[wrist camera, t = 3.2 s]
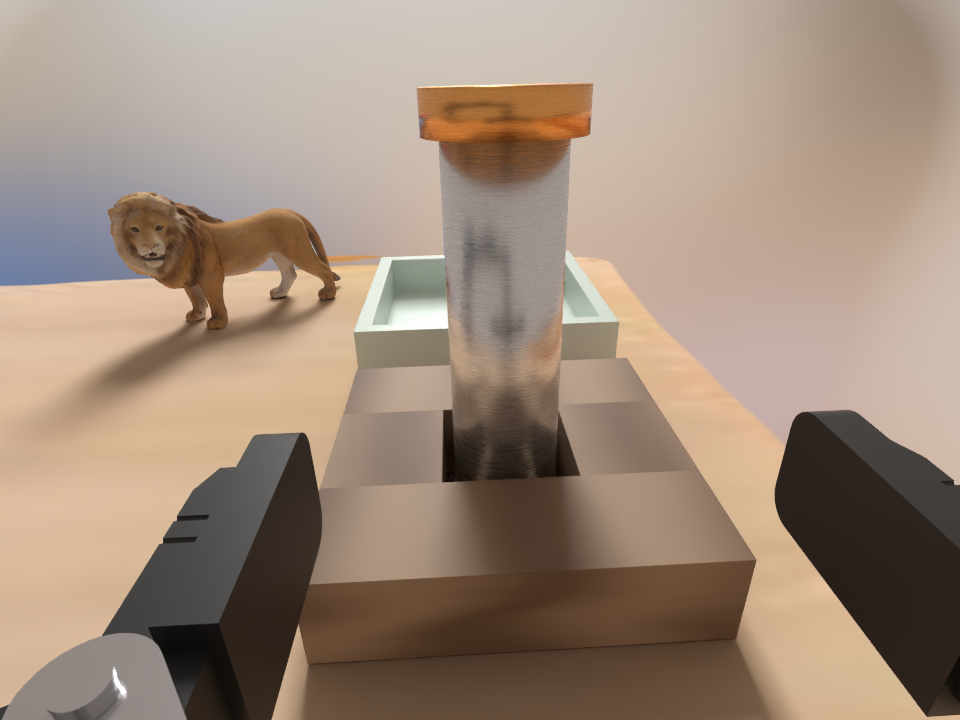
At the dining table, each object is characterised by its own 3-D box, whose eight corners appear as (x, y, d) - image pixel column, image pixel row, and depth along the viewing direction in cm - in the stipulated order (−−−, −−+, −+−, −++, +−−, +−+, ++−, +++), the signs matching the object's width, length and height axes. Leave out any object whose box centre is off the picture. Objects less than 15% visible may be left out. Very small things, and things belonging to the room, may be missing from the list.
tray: (360, 383, 30) (353, 332, 29) (385, 296, 42) (381, 257, 41) (614, 372, 31) (618, 321, 29) (566, 289, 43) (568, 250, 41)
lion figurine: (162, 355, 34) (117, 202, 30) (129, 333, 37) (84, 192, 33) (360, 291, 44) (345, 169, 40) (320, 278, 47) (302, 163, 43)
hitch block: (307, 664, 16) (289, 585, 14) (365, 426, 26) (357, 369, 25) (735, 638, 16) (756, 559, 15) (620, 414, 27) (626, 357, 25)
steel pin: (443, 556, 19) (411, 88, 13) (444, 471, 23) (420, 86, 17) (579, 549, 19) (613, 83, 13) (556, 466, 23) (573, 82, 17)
